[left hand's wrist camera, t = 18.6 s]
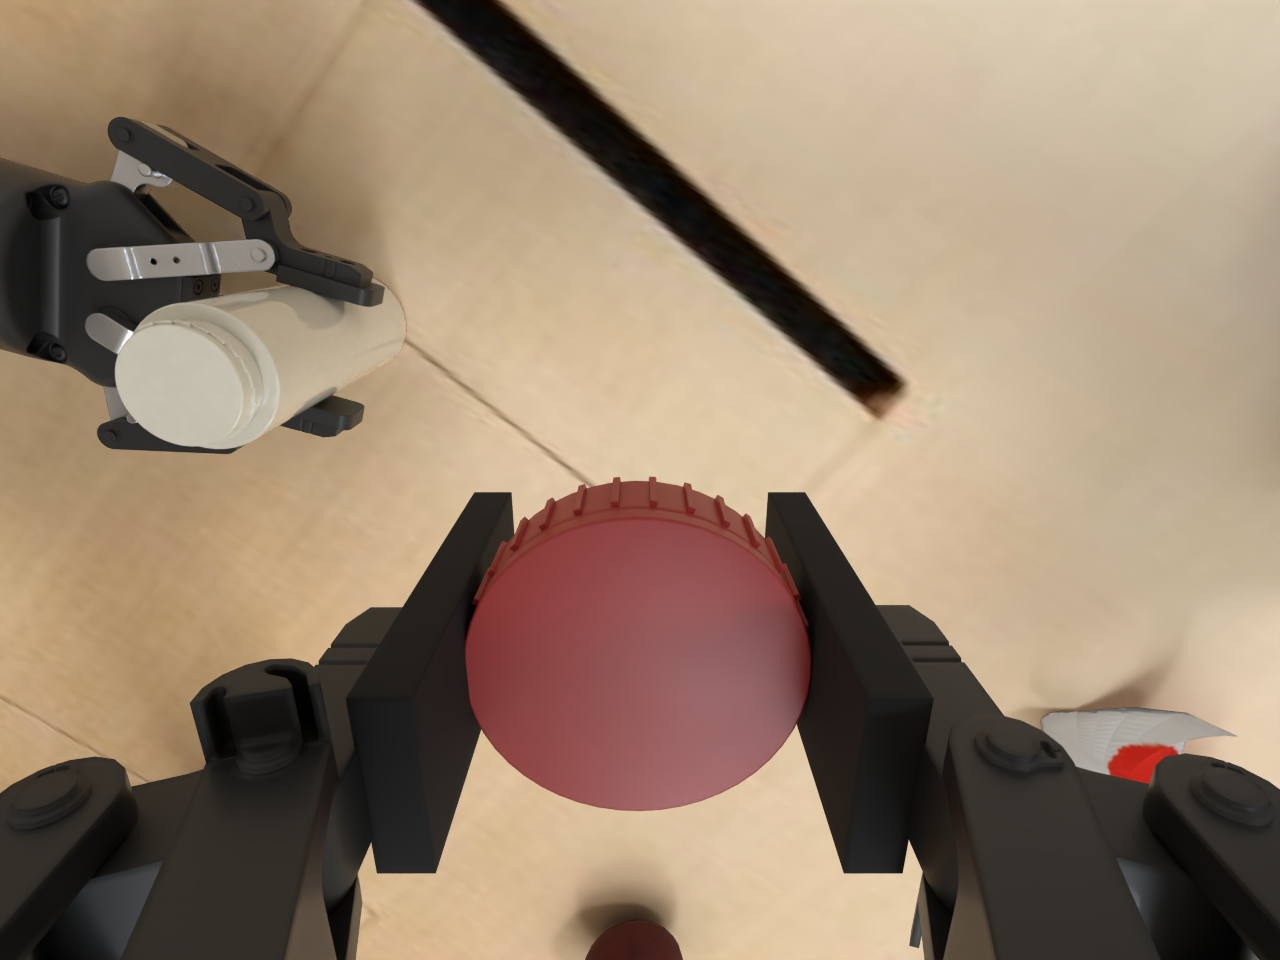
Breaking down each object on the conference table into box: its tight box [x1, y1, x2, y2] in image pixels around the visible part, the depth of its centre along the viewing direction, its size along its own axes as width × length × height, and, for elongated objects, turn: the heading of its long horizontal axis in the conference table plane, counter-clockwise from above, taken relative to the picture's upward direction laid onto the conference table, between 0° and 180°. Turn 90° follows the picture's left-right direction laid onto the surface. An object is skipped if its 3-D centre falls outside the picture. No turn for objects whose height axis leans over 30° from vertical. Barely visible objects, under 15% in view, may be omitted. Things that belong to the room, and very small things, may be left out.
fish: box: [1040, 707, 1238, 784], centre depth 43 cm, size 11×16×10 cm
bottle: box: [115, 278, 406, 449], centre depth 28 cm, size 5×5×16 cm
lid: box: [465, 477, 812, 811], centre depth 11 cm, size 5×6×2 cm
